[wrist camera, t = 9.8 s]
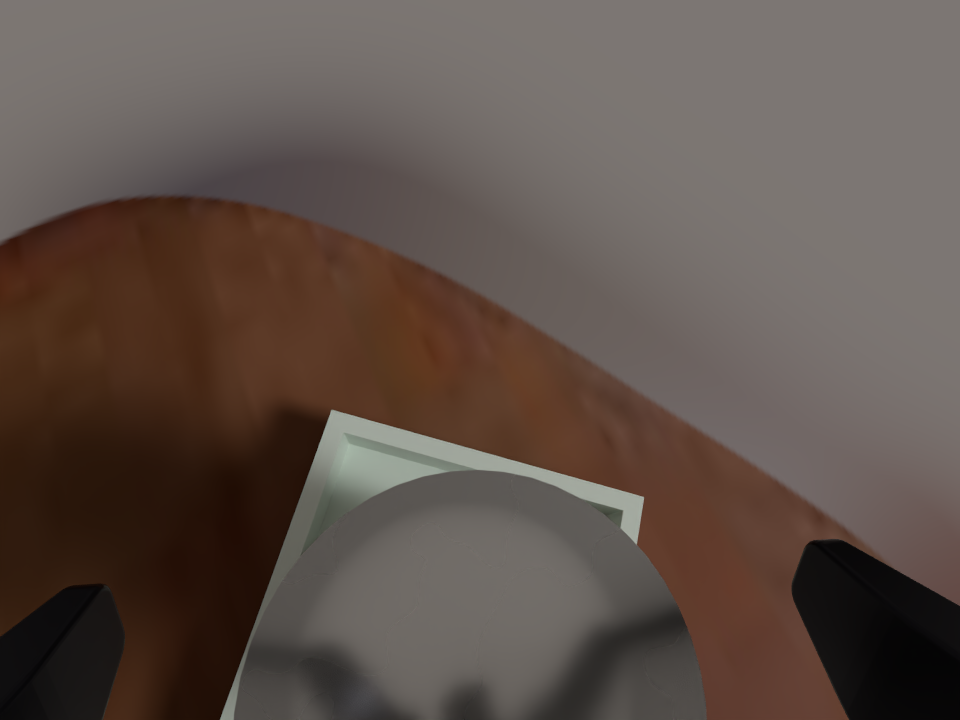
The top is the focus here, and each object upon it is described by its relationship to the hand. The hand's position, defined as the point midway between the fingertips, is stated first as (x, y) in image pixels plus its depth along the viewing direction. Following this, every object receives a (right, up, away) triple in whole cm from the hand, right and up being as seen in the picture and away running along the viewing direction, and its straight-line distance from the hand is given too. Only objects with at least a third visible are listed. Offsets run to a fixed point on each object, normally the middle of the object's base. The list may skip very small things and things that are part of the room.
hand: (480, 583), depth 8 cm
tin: (-1, -6, +12) cm, 13 cm away
